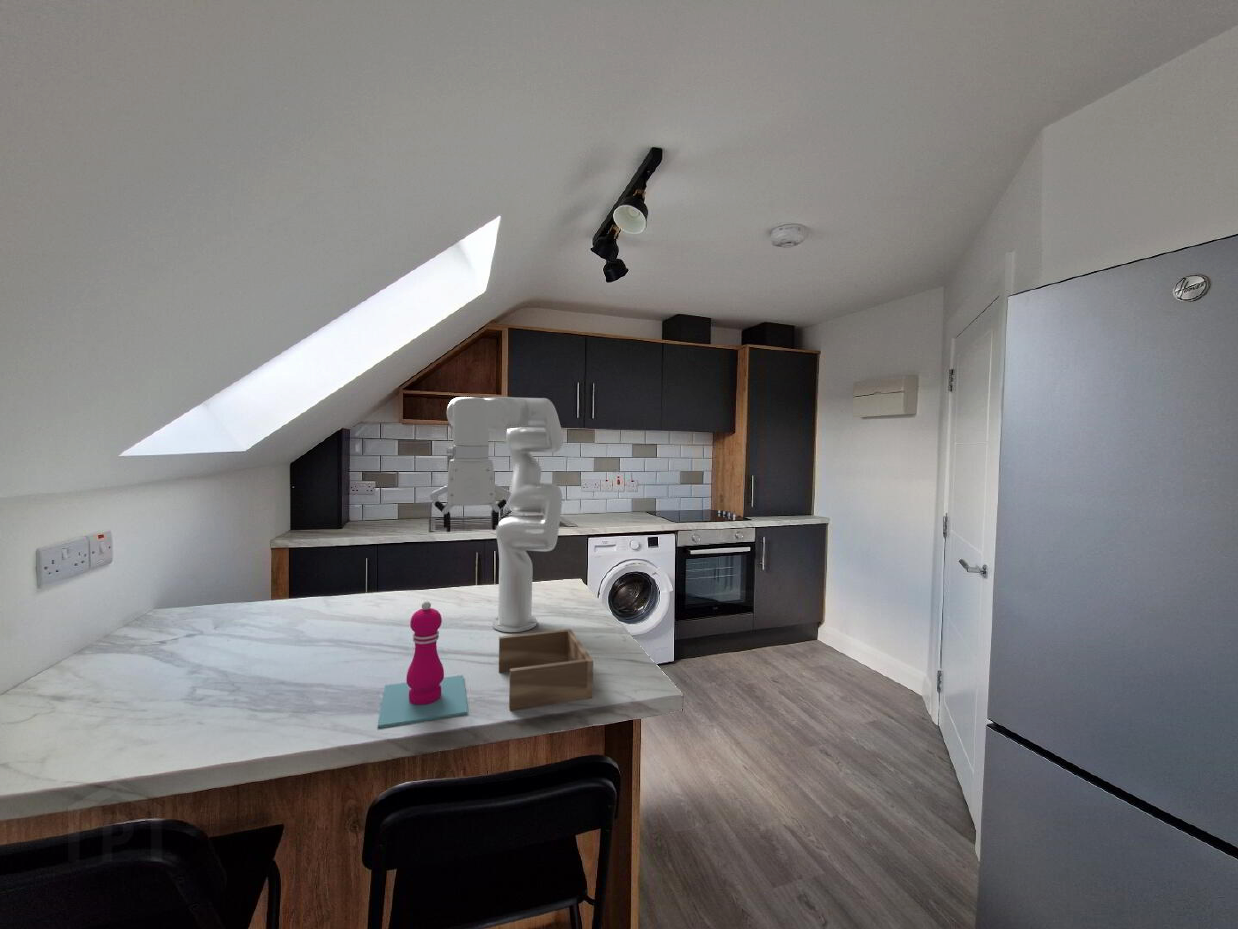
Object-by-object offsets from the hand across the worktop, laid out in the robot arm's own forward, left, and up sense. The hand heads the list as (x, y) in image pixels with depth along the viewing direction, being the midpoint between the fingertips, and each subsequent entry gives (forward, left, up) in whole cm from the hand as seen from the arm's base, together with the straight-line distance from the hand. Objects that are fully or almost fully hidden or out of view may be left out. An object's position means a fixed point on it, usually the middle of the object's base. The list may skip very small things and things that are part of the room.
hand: (471, 529), depth 113 cm
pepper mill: (+8, -9, -33) cm, 35 cm away
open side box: (+8, +15, -34) cm, 37 cm away
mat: (+8, -9, -34) cm, 36 cm away
